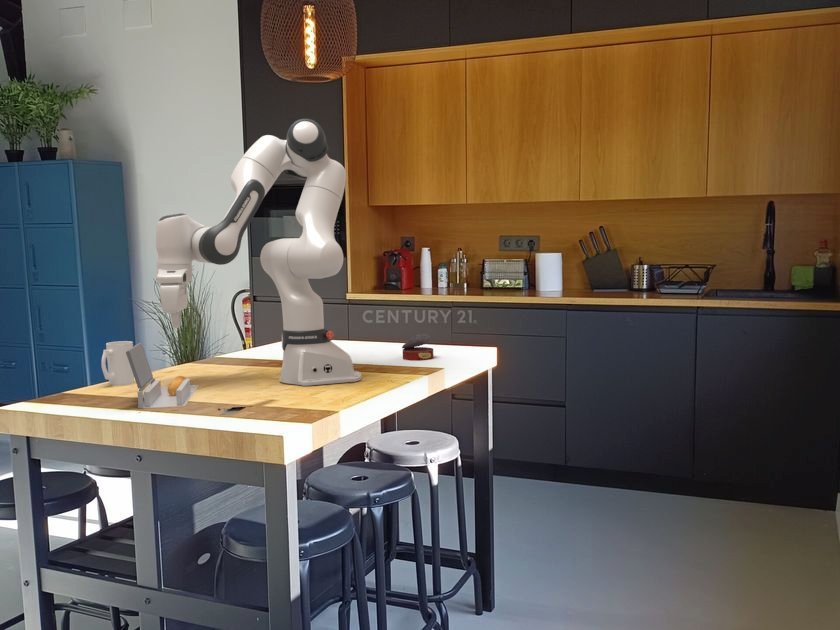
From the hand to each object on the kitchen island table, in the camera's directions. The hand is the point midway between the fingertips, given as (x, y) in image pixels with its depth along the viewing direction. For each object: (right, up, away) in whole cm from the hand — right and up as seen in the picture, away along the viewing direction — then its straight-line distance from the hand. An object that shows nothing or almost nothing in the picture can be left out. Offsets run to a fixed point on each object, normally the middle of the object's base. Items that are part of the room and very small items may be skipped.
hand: (176, 327), depth 211 cm
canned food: (+64, -11, +44) cm, 78 cm away
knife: (+22, -19, -26) cm, 39 cm away
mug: (-17, -16, +3) cm, 24 cm away
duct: (+3, -18, -14) cm, 23 cm away
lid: (-2, -9, -20) cm, 22 cm away
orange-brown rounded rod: (+2, -16, -9) cm, 18 cm away
